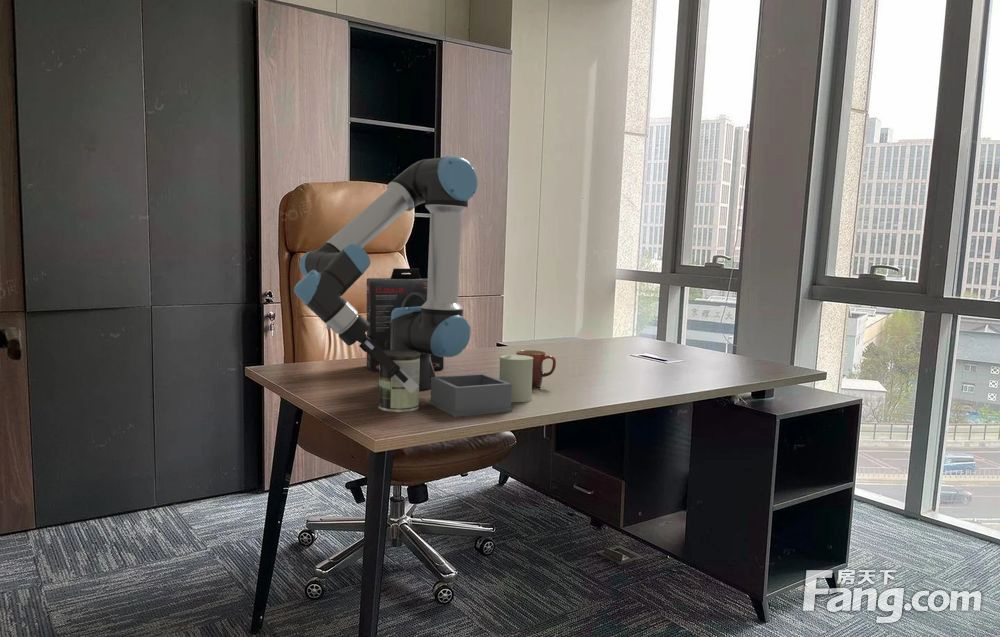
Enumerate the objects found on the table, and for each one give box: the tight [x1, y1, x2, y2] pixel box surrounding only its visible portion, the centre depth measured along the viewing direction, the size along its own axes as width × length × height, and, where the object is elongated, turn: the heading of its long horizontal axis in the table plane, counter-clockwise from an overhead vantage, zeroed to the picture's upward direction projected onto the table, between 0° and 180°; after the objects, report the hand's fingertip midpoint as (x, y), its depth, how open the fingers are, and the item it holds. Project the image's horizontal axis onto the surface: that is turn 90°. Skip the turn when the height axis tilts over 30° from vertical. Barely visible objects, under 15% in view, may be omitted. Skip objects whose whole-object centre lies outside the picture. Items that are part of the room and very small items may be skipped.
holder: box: [428, 373, 514, 418], centre depth 187 cm, size 16×16×7 cm
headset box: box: [366, 267, 445, 372], centre depth 241 cm, size 25×12×33 cm, turn 106°
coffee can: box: [377, 350, 420, 413], centre depth 184 cm, size 10×10×14 cm
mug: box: [515, 349, 557, 389], centre depth 216 cm, size 12×9×10 cm
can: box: [499, 354, 533, 403], centre depth 198 cm, size 9×9×12 cm
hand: (410, 385), depth 185 cm, fingers open, 11 cm apart
